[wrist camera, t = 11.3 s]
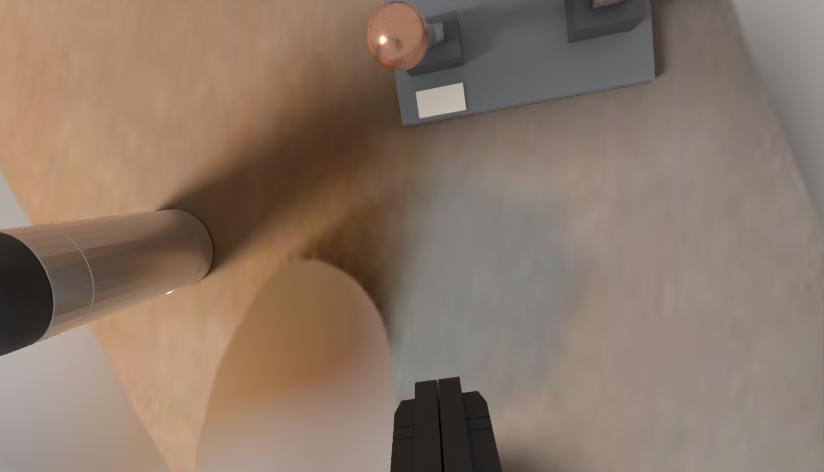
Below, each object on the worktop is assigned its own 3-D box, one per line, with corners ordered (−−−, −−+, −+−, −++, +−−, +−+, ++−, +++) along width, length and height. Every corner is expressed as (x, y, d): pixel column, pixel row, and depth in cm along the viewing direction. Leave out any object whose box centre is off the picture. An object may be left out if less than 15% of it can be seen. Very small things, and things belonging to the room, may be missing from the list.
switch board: (648, 82, 34) (671, 69, 30) (405, 126, 39) (394, 121, 35) (638, -67, 32) (661, -103, 28) (387, -1, 37) (372, -24, 33)
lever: (450, 52, 33) (430, 66, 19) (413, 60, 34) (368, 79, 20) (443, 9, 31) (418, -10, 18) (405, 18, 32) (351, 7, 18)
